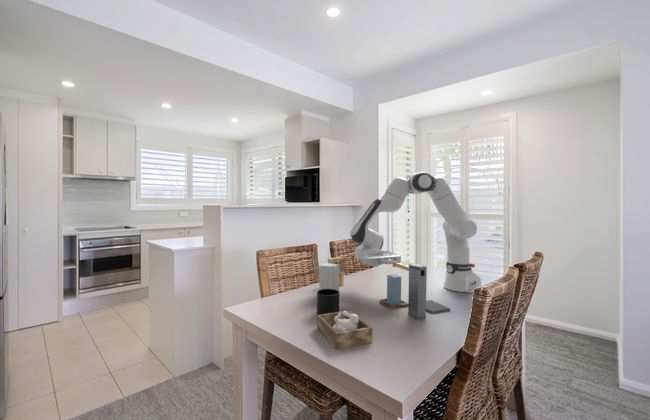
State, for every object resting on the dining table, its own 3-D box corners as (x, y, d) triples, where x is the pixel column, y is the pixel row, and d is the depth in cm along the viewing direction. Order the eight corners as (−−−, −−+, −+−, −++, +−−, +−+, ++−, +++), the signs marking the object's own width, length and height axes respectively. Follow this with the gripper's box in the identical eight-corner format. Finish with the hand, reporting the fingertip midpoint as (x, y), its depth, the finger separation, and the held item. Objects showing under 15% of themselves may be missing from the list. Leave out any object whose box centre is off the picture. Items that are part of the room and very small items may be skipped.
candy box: (339, 283, 174) (339, 256, 174) (344, 284, 171) (344, 257, 171) (327, 285, 169) (327, 258, 168) (332, 287, 166) (332, 259, 165)
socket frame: (396, 299, 146) (396, 297, 146) (409, 306, 137) (409, 303, 137) (379, 301, 142) (379, 299, 142) (391, 308, 133) (391, 306, 133)
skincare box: (339, 295, 152) (339, 264, 152) (333, 298, 146) (333, 266, 146) (324, 292, 156) (324, 262, 155) (318, 296, 150) (318, 264, 150)
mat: (430, 302, 143) (430, 299, 143) (450, 310, 132) (450, 308, 132) (413, 304, 139) (413, 302, 139) (432, 313, 128) (432, 311, 128)
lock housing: (415, 313, 128) (416, 263, 128) (425, 318, 123) (426, 266, 122) (408, 314, 127) (409, 264, 126) (417, 319, 121) (418, 267, 121)
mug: (343, 309, 132) (343, 288, 132) (335, 319, 121) (335, 296, 121) (323, 306, 135) (323, 286, 135) (313, 315, 124) (313, 294, 124)
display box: (348, 323, 117) (349, 310, 117) (372, 342, 101) (372, 327, 101) (317, 328, 112) (317, 315, 112) (336, 349, 96) (336, 333, 96)
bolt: (396, 266, 139) (396, 261, 139) (418, 273, 126) (418, 267, 126) (392, 266, 138) (392, 261, 138) (413, 274, 125) (413, 268, 125)
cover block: (394, 301, 142) (395, 274, 142) (400, 305, 138) (401, 276, 138) (386, 303, 141) (387, 275, 140) (392, 306, 137) (393, 277, 136)
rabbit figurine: (365, 333, 108) (365, 307, 108) (363, 343, 101) (363, 315, 101) (332, 331, 111) (332, 305, 110) (328, 340, 103) (328, 312, 103)
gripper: (356, 252, 151) (371, 257, 138) (391, 250, 159) (407, 254, 146) (356, 265, 151) (370, 271, 138) (390, 262, 159) (407, 267, 146)
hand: (390, 262), depth 142 cm, fingers closed
